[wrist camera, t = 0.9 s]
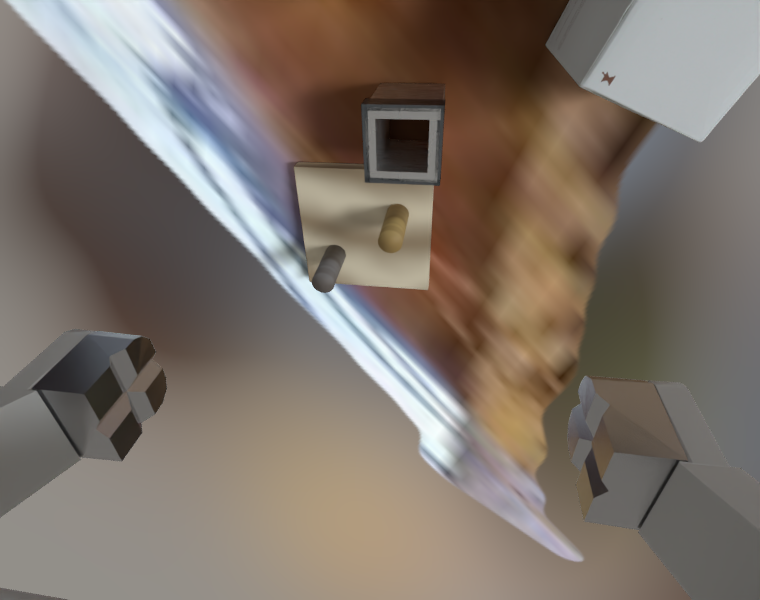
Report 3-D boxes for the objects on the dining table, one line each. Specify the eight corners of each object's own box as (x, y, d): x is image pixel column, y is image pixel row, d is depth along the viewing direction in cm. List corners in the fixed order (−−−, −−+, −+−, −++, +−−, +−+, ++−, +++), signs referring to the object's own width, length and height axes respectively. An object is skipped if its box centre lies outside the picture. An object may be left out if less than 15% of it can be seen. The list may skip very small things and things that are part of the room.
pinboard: (297, 161, 41) (274, 190, 36) (434, 166, 39) (429, 197, 34) (312, 275, 48) (295, 311, 43) (428, 282, 46) (424, 322, 42)
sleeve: (377, 80, 36) (361, 104, 30) (448, 80, 35) (444, 105, 30) (379, 149, 39) (364, 182, 34) (443, 151, 38) (439, 185, 33)
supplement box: (631, 90, 34) (699, 150, 24) (541, 45, 33) (573, 87, 23) (712, -24, 29) (838, -9, 19) (612, -80, 28) (689, -95, 18)
